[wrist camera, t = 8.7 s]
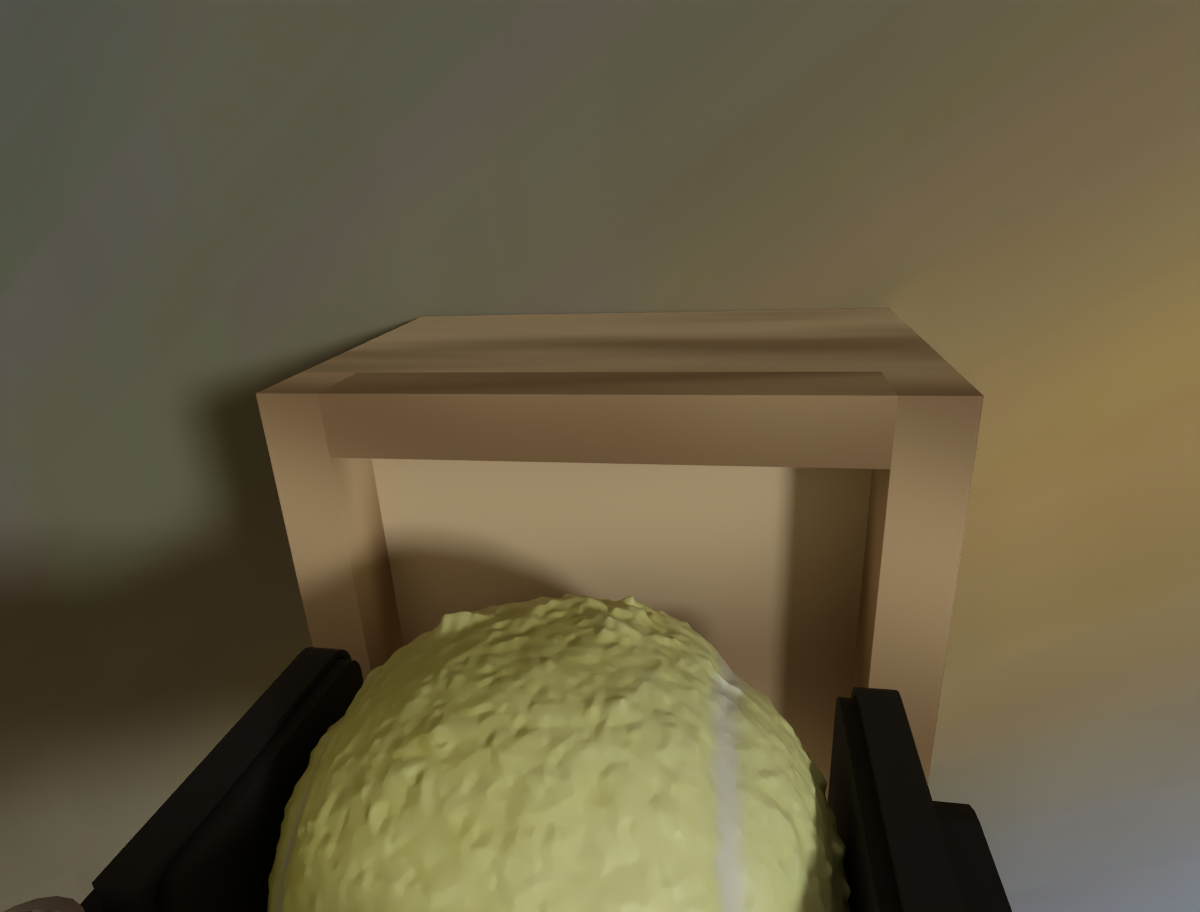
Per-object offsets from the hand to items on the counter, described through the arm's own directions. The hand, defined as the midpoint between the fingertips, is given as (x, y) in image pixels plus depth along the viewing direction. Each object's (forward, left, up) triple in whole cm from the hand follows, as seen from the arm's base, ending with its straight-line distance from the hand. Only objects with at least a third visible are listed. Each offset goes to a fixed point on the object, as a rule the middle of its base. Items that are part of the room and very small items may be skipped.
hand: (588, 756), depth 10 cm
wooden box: (0, 0, -8) cm, 8 cm away
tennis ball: (0, 0, -1) cm, 1 cm away
